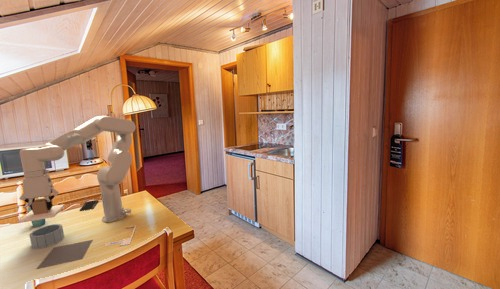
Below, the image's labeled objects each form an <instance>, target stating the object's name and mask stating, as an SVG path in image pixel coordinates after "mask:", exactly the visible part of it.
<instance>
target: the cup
mask: <svg viewBox="0 0 500 289" xmlns="http://www.w3.org/2000/svg"><path fill="white" fill-rule="evenodd" d="M27 207H28V208H27ZM22 208H23V209H26V208H27V210H26V212H27V213H29V212H30V211H31V206H30V205H29V204H28V203H27V204H25V205H24V206H23V207H22ZM30 222H31V224H32V227H33V228H40V227H43V226H45V224H46V219H40V220H34V221H30Z"/></svg>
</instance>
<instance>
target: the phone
mask: <svg viewBox="0 0 500 289" xmlns="http://www.w3.org/2000/svg"><path fill="white" fill-rule="evenodd" d="M98 203H99V199H96V200H95V199H94V200H90V201H85V203H84V204H83V205H82V206H81V208H80V209H79V212H85V211H91V210H94V209H95V208H96V206H97V204H98ZM90 209H91V210H90ZM84 210H85V211H84Z"/></svg>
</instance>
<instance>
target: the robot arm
mask: <svg viewBox="0 0 500 289" xmlns="http://www.w3.org/2000/svg"><path fill="white" fill-rule="evenodd" d="M135 131H136V124H135V122H134V121H133V120H131V119H127V118H122V117H121V118H120V117H114V116H109V115H96V116H94V117H93V118H91V119H89V120H87V121H86V122H84V123H83V124H81V125H78V126H77V127H76V128H74V129H71V130H70V131H68V132H66V133H63V134H61V135H59V136H57V137H56V138H55V137H54V139H52V140H50V141H49V142H46V143H45V144H44V145H42V146H41V147H36V146H33V147H26V148H22V149H20V150H19V157H20V162H21V166H22V172H23V176H24V178H23V179H22V190H23V191H22V192H23V193H22V194H21V196H19V200H20V201H23V202H25V203H27V204H29V205H30V206H31V210H32V211H33V209H32V204H31V203H32V202H34V201H35V200H36V199H39V198H46V200H47V202H46V204H47V209H48V210H50V209H51V208H52V206H54V205H53V201H52V200H53V199H54V198H56V196H57V195H58V194H59V193H60V192H59V191H58V190H57V189H56V188H54V185H53V181H52V179H51V177H50V174H49V173H50V169H47V168H46V165H45V162H53V161H55V162H56V161H59V160H60V159H62V158H63V157H64V156H65V151H67V150H68V149H70V148H73V147H74V146H79V145H81V144H82V145H83V144H84V143H87V142H88V141H90V140H92V139H94V138H95V137H98V135H100V134H101V133H103V132H108V133H115V135H116V136H115V137H116V139H115V141H114V144H113V146H112V148H111V150H110V152H109V153H108V155H107V161H108V163H110V164H111V166H110V165H105V166H102V167H101V168H99V170H98V171H97V174H96V177H97V182H98V184H99V188H100V194H101V201H102V208H103V213H104V216H102V218H101V222H103V223H114V222H117V221H120V220H122V219H124V218H125V217H126V216H127V214H130V213H132V209H130V208H125V207H124V206H123V202H122V195H121V189H120V187H121V186H120V184H121V183H122V182H123V181H124V179H125V178H126V176H127V175H128V174H127V173H128V172H129V169H130V167H131V164H132V163H133V156H132V153H131V152H130V148H131V145H132V143H133V137H132V134H133V133H134V132H135Z"/></svg>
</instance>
